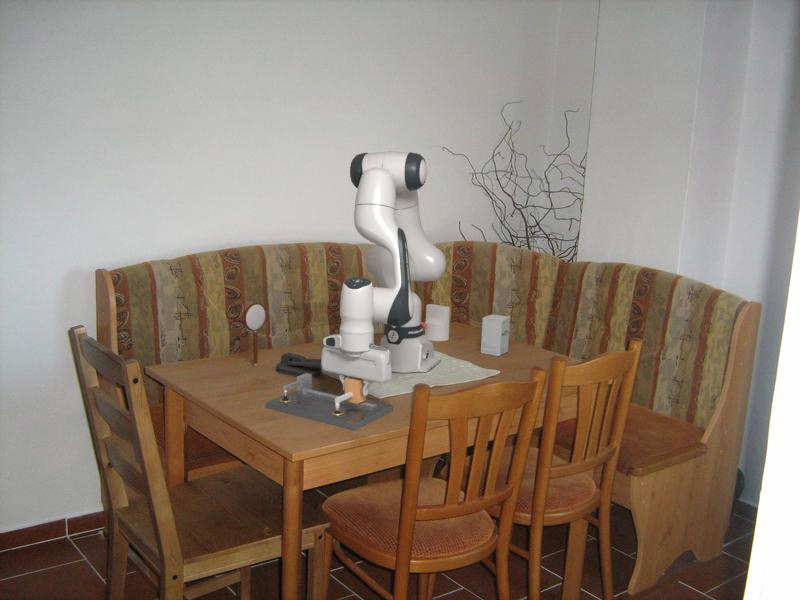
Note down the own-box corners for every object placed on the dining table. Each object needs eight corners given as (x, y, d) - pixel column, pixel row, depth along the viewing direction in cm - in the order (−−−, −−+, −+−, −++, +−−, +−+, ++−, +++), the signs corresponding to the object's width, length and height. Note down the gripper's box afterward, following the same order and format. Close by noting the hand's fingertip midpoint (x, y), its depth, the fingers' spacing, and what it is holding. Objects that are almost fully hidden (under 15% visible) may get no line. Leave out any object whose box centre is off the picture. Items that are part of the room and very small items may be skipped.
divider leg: (353, 398, 206) (353, 375, 205) (365, 401, 204) (366, 377, 203) (329, 409, 198) (330, 384, 196) (342, 412, 196) (342, 387, 194)
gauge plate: (309, 391, 219) (309, 368, 218) (393, 410, 205) (393, 386, 204) (266, 407, 204) (266, 384, 203) (354, 430, 190) (354, 404, 189)
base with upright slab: (419, 338, 285) (420, 305, 283) (434, 334, 292) (435, 302, 290) (439, 342, 280) (440, 309, 277) (453, 338, 286) (455, 306, 284)
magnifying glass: (246, 369, 239) (246, 305, 235) (242, 368, 240) (242, 304, 236) (267, 363, 245) (267, 301, 241) (264, 362, 246) (263, 300, 242)
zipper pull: (332, 366, 221) (271, 350, 236) (332, 388, 222) (271, 371, 237) (353, 360, 228) (292, 345, 243) (352, 382, 229) (292, 365, 244)
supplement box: (499, 356, 262) (501, 320, 260) (480, 353, 266) (481, 317, 264) (508, 352, 269) (510, 316, 266) (489, 348, 272) (491, 313, 270)
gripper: (397, 345, 198) (395, 397, 201) (332, 333, 208) (331, 382, 211) (383, 350, 193) (382, 403, 195) (317, 337, 203) (317, 388, 206)
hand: (355, 392), depth 203 cm, fingers closed on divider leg, 4 cm apart
